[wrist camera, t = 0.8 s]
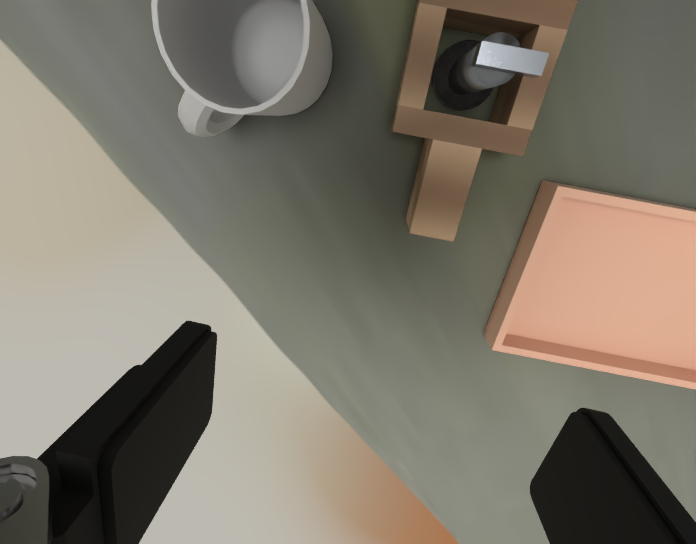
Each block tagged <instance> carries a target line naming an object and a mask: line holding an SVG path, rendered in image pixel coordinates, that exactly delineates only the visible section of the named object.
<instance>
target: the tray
mask: <svg viewBox="0 0 696 544" xmlns="http://www.w3.org/2000/svg"><path fill="white" fill-rule="evenodd" d="M484 335H485V337H486V339H487V341H488V343H489V345H490V347H491V349H492V350H495V351H500V352H505V353H511V354H516V355H521V356H526V357H531V358H536V359H542V360H547V361H552V362H557V363H562V364H567V365H573V366H578V367H583V368H588V369H593V370H598V371H604V372H609V373H614V374H619V375H624V376H629V377H634V378H640V379H645V380H650V381H655V382H660V383H665V384H671V385H676V386H681V387H686V388H691V389H696V209H693V208H688V207H683V206H677V205H672V204H667V203H661V202H656V201H651V200H646V199H640V198H635V197H630V196H624V195H619V194H614V193H609V192H603V191H598V190H593V189H587V188H582V187H577V186H572V185H566V184H561V183H556V182H550V181H545V180H542V182H541V185H540V187H539V190H538V193H537V195H536V198H535V200H534V203H533V206H532V208H531V211H530V213H529V216H528V219H527V221H526V224H525V226H524V229H523V232H522V234H521V237H520V239H519V242H518V245H517V247H516V250H515V252H514V255H513V258H512V260H511V263H510V265H509V268H508V271H507V273H506V276H505V278H504V281H503V284H502V286H501V289H500V291H499V294H498V296H497V299H496V302H495V304H494V307H493V309H492V312H491V315H490V317H489V320H488V322H487V325H486V328H485V330H484Z"/></svg>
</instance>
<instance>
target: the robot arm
mask: <svg viewBox="0 0 696 544" xmlns="http://www.w3.org/2000/svg"><path fill="white" fill-rule="evenodd" d="M216 344H217V334H216V333H215V332H211V327H210V326H209V325H205V324H201V323H196V322H192V321H186V322H185V323H184V324H182V325H181V327H179V329H178V330H176V331H175V332H174V334H173V335H172V336H170V337H169V338H168V339H167V341H165V342H164V343H163V344H162V346H160V347H159V348H158V349H157V350H156V352H154V353H153V354H152V355H151V356H150V357H149V358H148V359H147V360H146V361H145V362H144V363H143V364H142V365H136V366H134V367H133V368H131V369H130V370H129V371H127V372H126V373H125V374H124V375H123V376H122V377H121V378H120V379H119V380H118V381H117V382H116V383H115V384H114V385H113V386H112V387H111V388H110V389H109V390H108V391H107V392H106V393H105V394H104V395H103V396H102V397H101V398H100V399H99V400H97V401H96V402H95V403H94V404H93V405H92V406H91V407H90V408H89V409H88V410H87V411H86V412H85V413H84V414H83V415H82V416H81V417H80V418H79V419H78V420H77V421H76V422H75V423H74V424H73V425H72V426H71V427H70V428H68V429H67V431H66V432H64V433H63V434H62V435H61V436H60V437H59V438H58V439H57V440H56V441H55V442H54V443H53V444H52V445H51V446H50V447H49V448H48V449H47V450H46V451H45V452H44V453H43V454H42V455H40V456H39V458H37V459H34V458H31V457H28V456H12V457H7V458H1V459H0V544H139V542H140V540H141V538H142V537H143V534H144V533H145V532H146V530H147V528H148V526H149V525H150V523H151V521H152V519H153V518H154V516H155V514H156V513H157V511H158V509H159V507H160V506H161V504H162V502H163V501H164V499H165V497H166V495H167V494H168V492H169V490H170V489H171V487H172V485H173V483H174V482H175V480H176V478H177V477H178V475H179V473H180V471H181V470H182V468H183V466H184V464H185V463H186V461H187V459H188V457H189V456H190V454H191V452H192V451H193V449H194V447H195V445H196V444H197V442H198V440H199V439H200V437H201V435H202V433H203V432H204V430H205V428H206V427H207V425H208V422H209V420H210V417H211V413H212V403H213V388H214V374H215V359H216ZM530 494H531V498H532V500H533V503H534V505H535V508H536V510H537V513H538V515H539V518H540V520H541V523H542V525H543V528H544V530H545V532H546V535H547V537H548V540H549V542H550V544H696V522H695V521H694V520H693V518H692V517H691V516H690V515H689V513H688V512H687V511H686V510H685V508H684V507H683V506H682V505H681V503H680V502H679V501H678V500H677V498H676V497H675V496H674V495H673V493H672V492H671V491H670V489H669V488H668V487H667V486H666V484H665V483H664V482H663V481H662V479H661V478H660V477H659V476H658V474H657V473H656V472H655V471H654V469H653V468H652V467H651V466H650V464H649V463H648V462H647V461H646V459H645V458H644V457H643V456H642V454H641V453H640V452H639V451H638V449H637V448H636V447H635V445H634V444H633V443H632V442H631V440H630V439H629V438H628V437H627V435H626V434H625V433H624V432H623V430H622V429H621V428H620V427H619V425H618V424H617V423H616V422H615V420H614V419H613V418H612V417H611V416H610V415H609V414H607V413H605V412H601V411H596V410H591V409H587V408H580V409H578V410H577V411H576V412H573V413H571V414H570V416H569V417H568V419H567V421H566V422H565V424H564V426H563V428H562V429H561V431H560V433H559V435H558V436H557V438H556V440H555V441H554V443H553V445H552V447H551V448H550V450H549V452H548V453H547V455H546V457H545V459H544V460H543V462H542V464H541V466H540V467H539V469H538V471H537V472H536V474H535V476H534V478H533V479H532V481H531V484H530Z"/></svg>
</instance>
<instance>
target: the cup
mask: <svg viewBox="0 0 696 544" xmlns="http://www.w3.org/2000/svg"><path fill="white" fill-rule="evenodd" d="M151 8H152V18H153V29H154V33H155V37H156V40H157V43H158V46H159V50H160V53H161V55H162V57H163V59H164V61H165V63H166V64H167V66H168V68H169V70H170V72H171V74H172V75H173V76H174V78H175V79H176V80H177V81H178V82H179V83H180V85H181V86H182V87H183V88H184V89H185V92H184V94H183V96H182V99H181V101H180V103H179V106H178V117H179V119H180V121H181V123H182V125H183V126H184V128H185V129H186V131H187V132H189V133H191V134H194V135H196V136H199V137H202V138H208V137H213V136H215V135H218V134H220V133H222V132H224V131H226V130H227V129H229V128H231V127H232V126H234V125H235V124H236V123H237V122H238V121H239V120H240V119H241V118H242V117H243V116H244V115H267V116H285V115H291V114H296V113H299V112H301V111H302V110H304V109H306V108H308V107H310V106H311V105H312V104H313V103H314V102H315V101H316V100H317V99H318V98H319V97H320V96H321V94H322V92H323V91H324V89H325V88H326V86H327V83H328V80H329V77H330V74H331V71H332V58H333V53H332V46H331V39H330V35H329V33H328V30H327V28H326V25H325V23H324V20H323V18H322V16H321V15H320V13H319V11H318V9H317V8H316V6H315V4H314V2H313V1H312V0H152V4H151Z"/></svg>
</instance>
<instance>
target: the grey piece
mask: <svg viewBox="0 0 696 544" xmlns="http://www.w3.org/2000/svg"><path fill="white" fill-rule="evenodd" d="M548 55H549V53H546V52H540V51H535V50H530V49H524V48H521V46H520V44H519V42H518V40H517V39H516V38H515V37H514V36H512V35H511V34H509V33H505V32H498V33H494V34H492V35H490V36H488V37H487V38H485V39H484V40H483V41H481V42H480V41H476V40H464V41H460V42H458V43H456V44H454V45H452V46H451V47H449V48H448V49H447V50H446V51H445V52H444V53H443V54H442V55H441V57H440V58H439V60H438V62H437V64H436V66H435V69H434V73H433V88H434V92H435V94H436V96H437V98H438V99H439V101H440V102H441V103H442V104H443V105H445V106H446V107H448V108H450V109H453V110H467V109H471V108H474V107H476V106H478V105H479V104H481V103H482V102H483V101H484V100H485V99H486V98H487V97H488V96H489V95H490V93H491V92H492V90H493V88H494V87H496V86H499V85H502V84H504V83H506V82H508V81H509V80H510V79H511V78H512V77H513V76H514V75H520V76H525V77H530V78H536V77H539V76H542V73H543V70H544V67H545V64H546V61H547V58H548Z"/></svg>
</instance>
